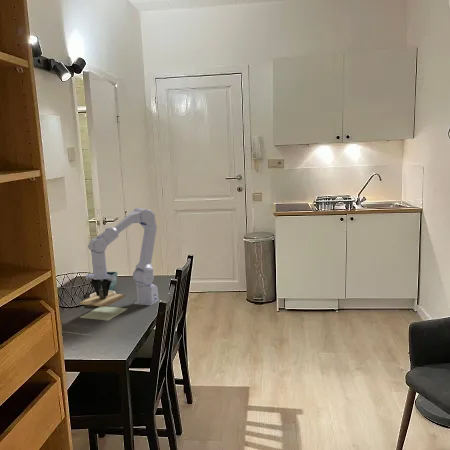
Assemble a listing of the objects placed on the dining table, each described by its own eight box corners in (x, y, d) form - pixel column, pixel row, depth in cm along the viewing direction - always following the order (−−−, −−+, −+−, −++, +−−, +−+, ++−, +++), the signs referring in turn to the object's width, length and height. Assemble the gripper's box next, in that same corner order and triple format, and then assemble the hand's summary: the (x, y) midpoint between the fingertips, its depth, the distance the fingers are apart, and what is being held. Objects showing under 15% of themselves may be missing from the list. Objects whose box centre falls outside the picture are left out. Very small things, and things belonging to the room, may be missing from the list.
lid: (125, 296, 213) (124, 286, 213) (106, 306, 201) (105, 295, 200) (99, 294, 219) (98, 284, 218) (79, 304, 206) (78, 293, 205)
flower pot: (112, 293, 241) (110, 276, 239) (96, 293, 242) (94, 276, 241) (119, 288, 249) (117, 271, 248) (103, 288, 251) (102, 271, 249)
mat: (128, 309, 215) (128, 308, 215) (108, 321, 201) (108, 320, 201) (100, 306, 220) (100, 306, 220) (79, 318, 207) (79, 317, 207)
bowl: (121, 299, 230) (120, 291, 229) (106, 307, 219) (105, 298, 218) (101, 297, 234) (100, 289, 234) (85, 305, 224) (84, 297, 223)
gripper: (79, 267, 206) (83, 297, 209) (107, 268, 201) (110, 299, 203) (90, 263, 213) (93, 292, 215) (117, 264, 207) (120, 294, 209)
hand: (102, 295), depth 209 cm, fingers closed on lid, 3 cm apart
